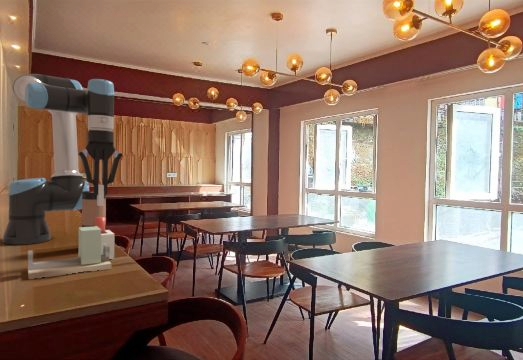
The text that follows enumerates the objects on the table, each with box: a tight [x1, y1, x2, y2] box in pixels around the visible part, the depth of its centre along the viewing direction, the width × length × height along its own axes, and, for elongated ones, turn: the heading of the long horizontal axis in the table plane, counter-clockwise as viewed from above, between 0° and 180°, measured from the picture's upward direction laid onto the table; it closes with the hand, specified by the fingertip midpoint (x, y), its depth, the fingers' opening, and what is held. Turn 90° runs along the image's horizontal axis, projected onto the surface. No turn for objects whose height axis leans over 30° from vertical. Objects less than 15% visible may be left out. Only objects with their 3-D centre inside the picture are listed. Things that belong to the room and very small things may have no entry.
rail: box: [27, 244, 112, 280], centre depth 104 cm, size 9×20×6 cm, turn 124°
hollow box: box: [101, 229, 115, 260], centre depth 117 cm, size 8×7×8 cm
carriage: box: [77, 226, 101, 265], centre depth 106 cm, size 6×5×10 cm
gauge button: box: [95, 217, 105, 234], centre depth 117 cm, size 3×3×5 cm
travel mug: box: [81, 190, 107, 230], centre depth 129 cm, size 8×8×20 cm
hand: (100, 205), depth 117 cm, fingers closed
